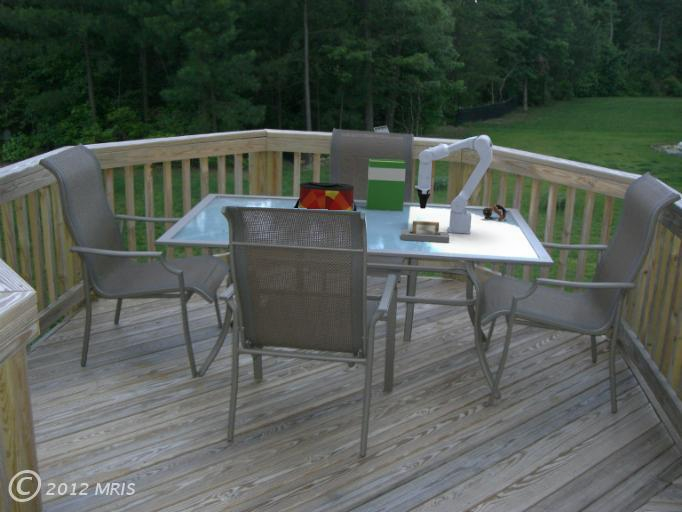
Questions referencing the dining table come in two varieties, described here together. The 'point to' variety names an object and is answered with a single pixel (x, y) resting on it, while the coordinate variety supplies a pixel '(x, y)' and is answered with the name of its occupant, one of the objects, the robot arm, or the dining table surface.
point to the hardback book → (386, 184)
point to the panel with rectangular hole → (425, 237)
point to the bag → (326, 196)
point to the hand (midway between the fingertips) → (422, 206)
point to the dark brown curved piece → (496, 210)
